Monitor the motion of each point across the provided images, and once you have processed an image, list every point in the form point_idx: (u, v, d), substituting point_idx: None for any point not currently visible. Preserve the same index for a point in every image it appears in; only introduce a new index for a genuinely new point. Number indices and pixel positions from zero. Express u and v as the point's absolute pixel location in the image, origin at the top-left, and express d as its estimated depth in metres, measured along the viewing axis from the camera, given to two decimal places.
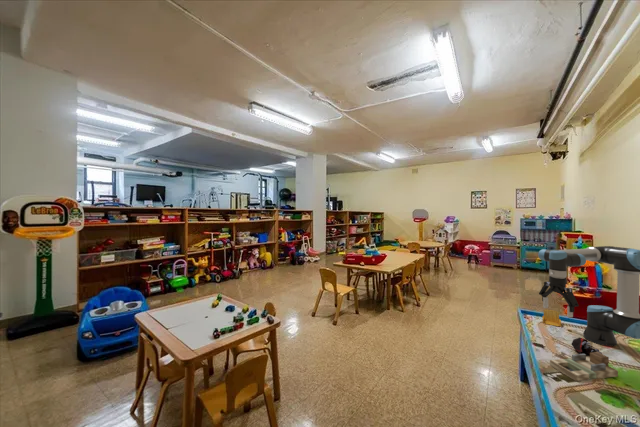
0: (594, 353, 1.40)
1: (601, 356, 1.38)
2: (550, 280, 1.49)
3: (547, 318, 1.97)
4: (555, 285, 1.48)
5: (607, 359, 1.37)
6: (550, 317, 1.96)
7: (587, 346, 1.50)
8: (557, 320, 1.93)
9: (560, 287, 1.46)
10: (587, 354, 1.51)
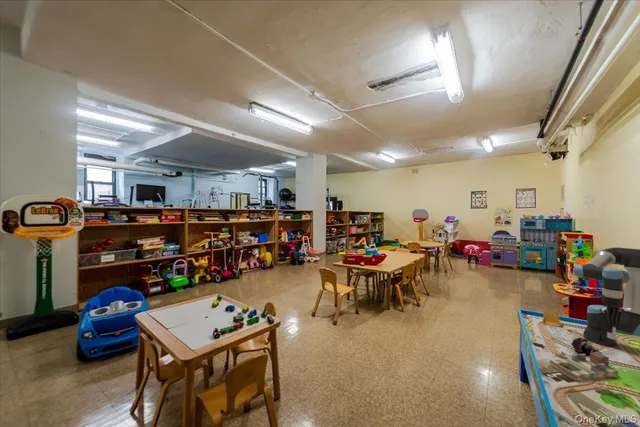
0: (594, 353, 1.40)
1: (601, 356, 1.38)
2: None
3: (547, 318, 1.96)
4: None
5: (607, 359, 1.37)
6: (550, 317, 1.95)
7: (587, 346, 1.50)
8: (557, 320, 1.93)
9: None
10: (587, 354, 1.51)
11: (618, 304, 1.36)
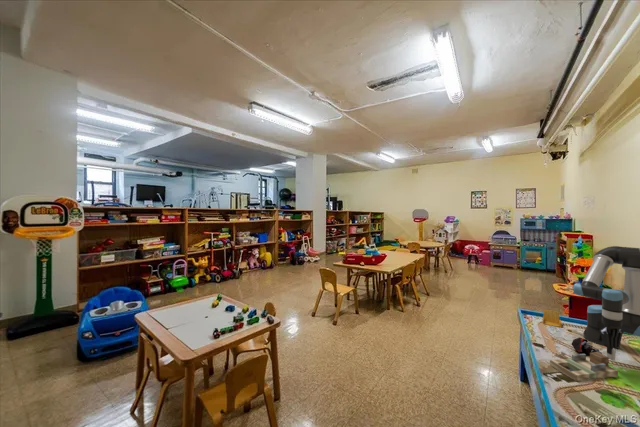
0: (594, 353, 1.40)
1: (601, 356, 1.38)
2: None
3: (547, 318, 1.96)
4: None
5: (607, 359, 1.37)
6: (550, 317, 1.95)
7: (587, 346, 1.50)
8: (557, 320, 1.92)
9: None
10: (587, 354, 1.51)
11: (618, 326, 1.36)
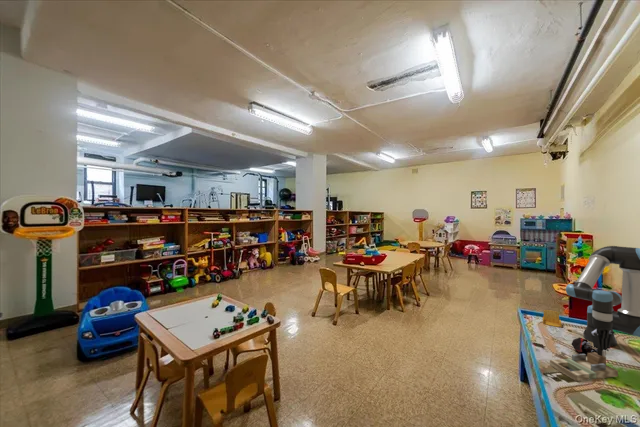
0: (591, 353, 1.40)
1: (598, 356, 1.37)
2: None
3: (547, 319, 1.96)
4: None
5: (604, 359, 1.37)
6: (550, 317, 1.95)
7: (587, 346, 1.51)
8: (557, 320, 1.92)
9: None
10: None
11: (608, 327, 1.35)
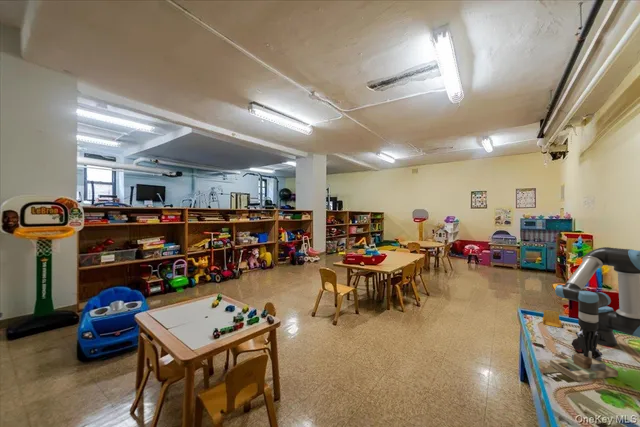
0: (578, 355, 1.39)
1: (584, 358, 1.36)
2: None
3: (547, 319, 1.95)
4: None
5: (590, 361, 1.35)
6: (550, 317, 1.94)
7: None
8: (557, 320, 1.92)
9: None
10: None
11: (593, 328, 1.34)
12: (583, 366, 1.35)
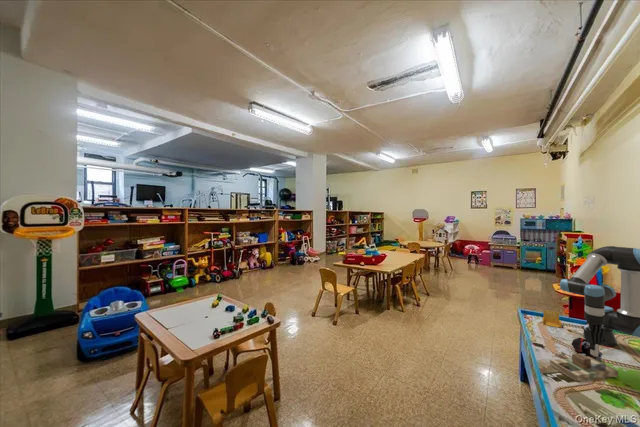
0: (577, 355, 1.39)
1: (583, 358, 1.36)
2: None
3: (547, 319, 1.95)
4: None
5: (589, 361, 1.35)
6: (550, 318, 1.94)
7: (587, 346, 1.50)
8: (557, 321, 1.91)
9: None
10: (587, 354, 1.51)
11: (600, 322, 1.35)
12: (582, 366, 1.35)
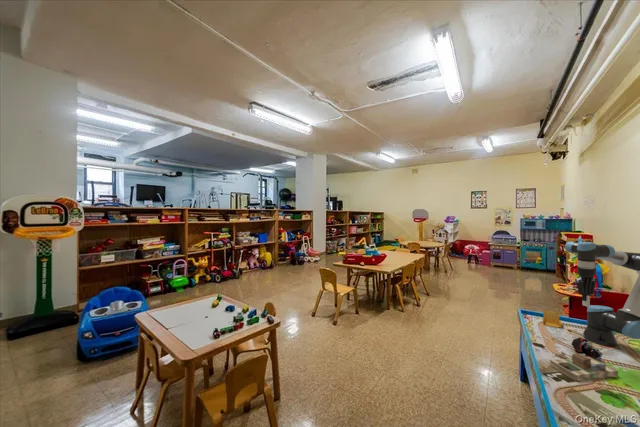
0: (577, 355, 1.39)
1: (583, 358, 1.36)
2: None
3: (547, 319, 1.95)
4: None
5: (589, 361, 1.35)
6: (550, 318, 1.94)
7: (587, 346, 1.50)
8: (557, 321, 1.91)
9: None
10: (587, 354, 1.51)
11: (591, 274, 1.48)
12: (582, 366, 1.35)
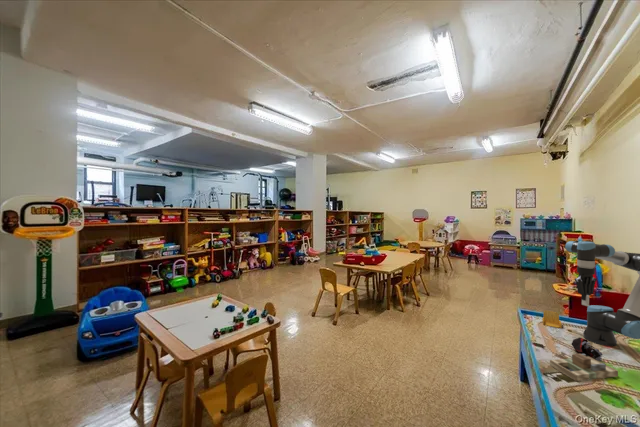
0: (577, 355, 1.39)
1: (583, 358, 1.36)
2: None
3: (547, 319, 1.94)
4: None
5: (589, 361, 1.35)
6: (550, 318, 1.94)
7: (587, 346, 1.50)
8: (557, 321, 1.91)
9: None
10: (587, 354, 1.51)
11: (590, 273, 1.48)
12: (582, 366, 1.35)
